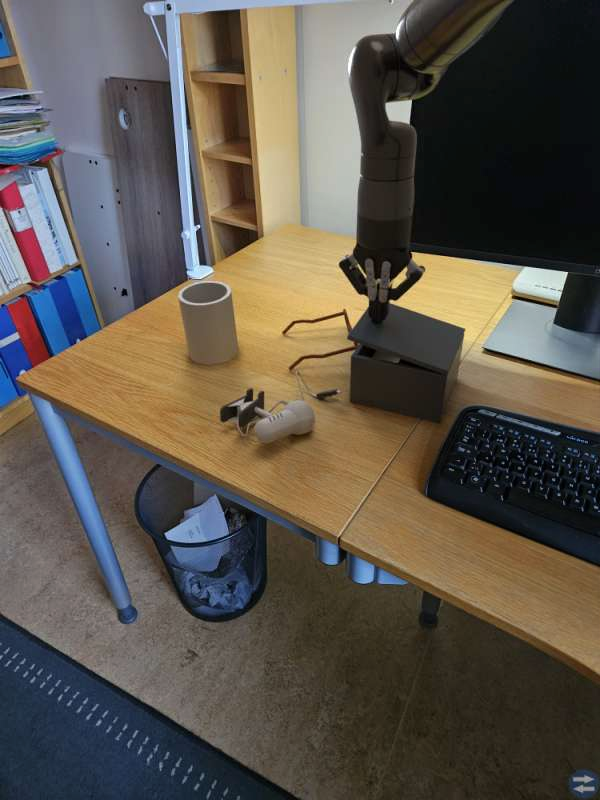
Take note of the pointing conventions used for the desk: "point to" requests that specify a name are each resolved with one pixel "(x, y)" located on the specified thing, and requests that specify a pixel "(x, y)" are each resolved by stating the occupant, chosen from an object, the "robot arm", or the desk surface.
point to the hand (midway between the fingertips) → (378, 320)
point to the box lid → (410, 337)
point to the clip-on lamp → (273, 427)
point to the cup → (209, 322)
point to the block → (386, 357)
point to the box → (401, 385)
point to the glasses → (329, 352)
